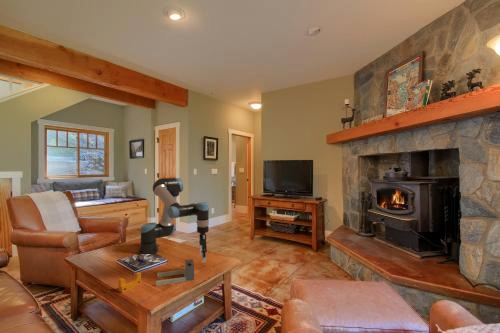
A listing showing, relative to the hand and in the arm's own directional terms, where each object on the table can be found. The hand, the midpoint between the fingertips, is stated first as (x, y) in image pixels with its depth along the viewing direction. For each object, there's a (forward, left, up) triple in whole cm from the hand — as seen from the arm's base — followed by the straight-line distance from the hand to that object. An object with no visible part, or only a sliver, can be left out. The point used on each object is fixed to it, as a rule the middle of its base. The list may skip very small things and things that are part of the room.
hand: (202, 258), depth 156 cm
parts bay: (0, -20, -11) cm, 23 cm away
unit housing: (0, -9, -11) cm, 14 cm away
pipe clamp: (+3, -42, -11) cm, 44 cm away
